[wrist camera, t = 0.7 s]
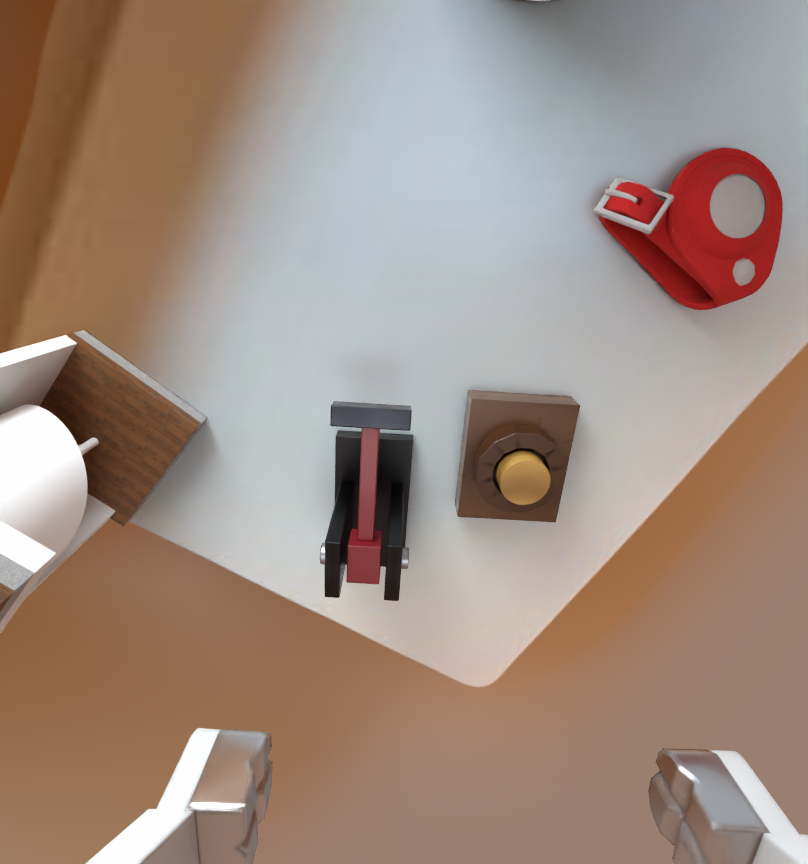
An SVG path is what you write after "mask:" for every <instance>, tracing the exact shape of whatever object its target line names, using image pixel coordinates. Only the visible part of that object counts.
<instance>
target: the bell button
mask: <svg viewBox="0 0 808 864" xmlns="http://www.w3.org/2000/svg"><path fill="white" fill-rule="evenodd" d="M496 479H497V482H498V484H499V487H500V490H501V492H502V494H503V496H504V497H505V498H506V499H507V500H509V501H510V502H512V503H515V504H519V505H527V504H532V503H535V502H537V501H538V500H540V499H541V498H542V497H543V496H544V495H545V494H546V493H547V491H548V489H549V487H550V483H551V478H550V474H549V471H548V469H547V468H546V466H545V465H544V463H543V461H542V460H541V458H540V457H539V456H538V455H536V454H535V453H533V452H530V451H525V450H520V451H514V452H512V453H509V454H508V455H506V456H505V457H504V458H503V459H502V460H501V461H500V462H499V464H498V466H497V469H496Z"/></svg>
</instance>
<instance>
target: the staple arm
mask: <svg viewBox="0 0 808 864" xmlns="http://www.w3.org/2000/svg"><path fill="white" fill-rule="evenodd" d="M411 412H412V411H411V406H402V405H386V404H369V403H353V402H337V401H334V402H333V404H332V405H331V426H341V427H357V428H362V436H361V460H360V484H359V508H358V529H351V534H350V538H349V543H348V555H347V582H349V583H367V584H379V578H380V566H381V549H382V531H380V530H374V529H375V510H376V490H377V471H378V452H379V433H380V429H390V430H407V431H409V430H410V426H411Z"/></svg>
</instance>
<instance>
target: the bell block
mask: <svg viewBox="0 0 808 864" xmlns="http://www.w3.org/2000/svg"><path fill="white" fill-rule="evenodd" d="M579 408H580V405H579V404H578V403H577V402H576V401H575V400H574V399H573V398H571V397H567V396H551V395H535V394H519V393H503V392H487V391H471V390H469V391H468V397H467V406H466V414H465V423H464V431H463V440H462V448H461V457H460V465H459V474H458V482H457V491H456V499H455V505H456V511H457V516H458V517H472V518H490V519H507V520H525V521H542V522H556V518H557V514H558V509H559V504H560V499H561V494H562V490H563V485H564V480H565V475H566V471H567V466H568V461H569V456H570V451H571V447H572V442H573V437H574V432H575V427H576V423H577V418H578V413H579ZM520 450H525V451H530V452H533V453H535V454H536V455H538V456H539V457H540V458H541V460H542V461H543V463H544V465H545V466H546V468H547V469H548V471H549V474H550V478H551V483H550V487H549V489H548V491H547V493H546V494H545V495H544V496H543V497H542V498H541V499H540V500H538V501H537V502H535V503H532V504H527V505H519V504H515V503H512V502H510V501H509V500H507V499H506V498H505V497H504V496H503V494H502V492H501V490H500V487H499V484H498V482H497V479H496V469H497V466H498V464H499V462H500V461H501V460H502V459H503V458H504V457H505V456H506V455H508V454H509V453H512V452H514V451H520Z"/></svg>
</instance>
